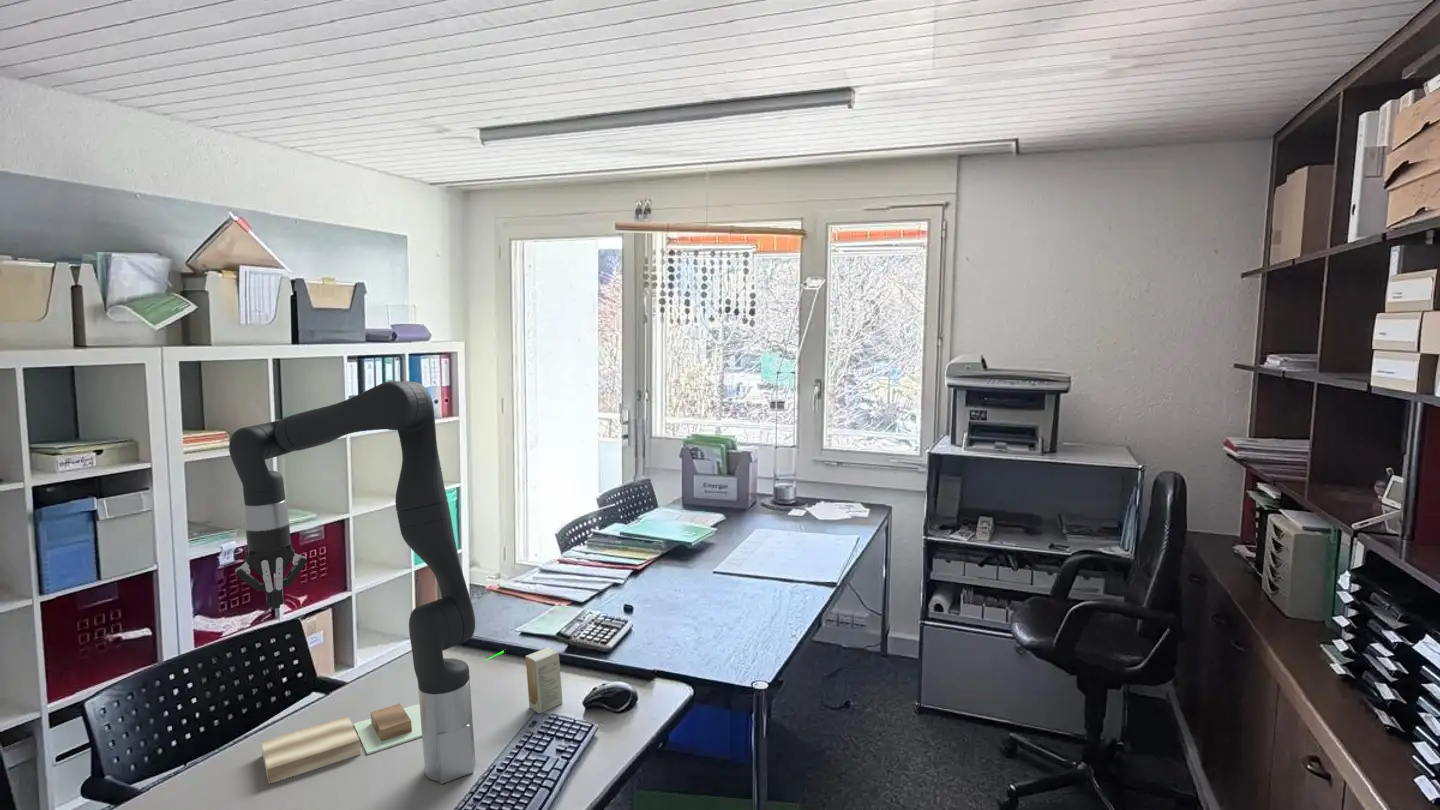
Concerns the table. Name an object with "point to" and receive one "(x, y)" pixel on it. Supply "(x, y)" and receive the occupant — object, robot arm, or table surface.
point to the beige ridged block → (309, 749)
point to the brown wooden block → (391, 722)
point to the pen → (495, 655)
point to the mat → (374, 743)
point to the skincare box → (544, 679)
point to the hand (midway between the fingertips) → (275, 607)
